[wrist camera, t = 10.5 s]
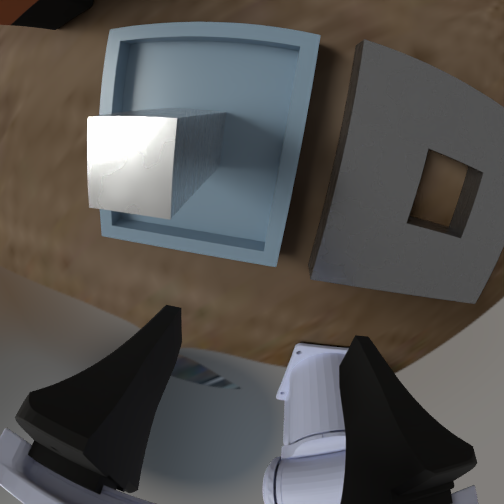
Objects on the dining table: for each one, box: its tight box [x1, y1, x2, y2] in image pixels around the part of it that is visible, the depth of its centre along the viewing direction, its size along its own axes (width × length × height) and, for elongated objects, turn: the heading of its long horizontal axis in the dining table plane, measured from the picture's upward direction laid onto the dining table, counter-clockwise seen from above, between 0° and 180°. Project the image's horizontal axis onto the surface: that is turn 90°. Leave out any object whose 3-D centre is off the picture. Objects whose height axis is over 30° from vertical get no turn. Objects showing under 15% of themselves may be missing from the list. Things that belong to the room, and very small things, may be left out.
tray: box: [99, 22, 320, 267], centre depth 17 cm, size 15×13×2 cm
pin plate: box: [308, 40, 504, 304], centre depth 17 cm, size 16×16×2 cm
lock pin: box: [87, 108, 226, 220], centre depth 13 cm, size 4×4×9 cm
